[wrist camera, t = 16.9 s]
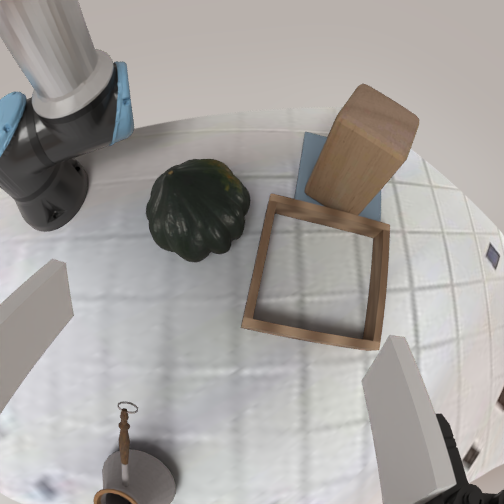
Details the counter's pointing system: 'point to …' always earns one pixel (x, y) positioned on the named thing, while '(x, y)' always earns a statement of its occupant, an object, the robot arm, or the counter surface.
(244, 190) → the squash
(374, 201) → the rubber mat
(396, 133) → the block
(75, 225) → the counter surface
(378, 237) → the walnut frame
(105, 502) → the coffee pot
